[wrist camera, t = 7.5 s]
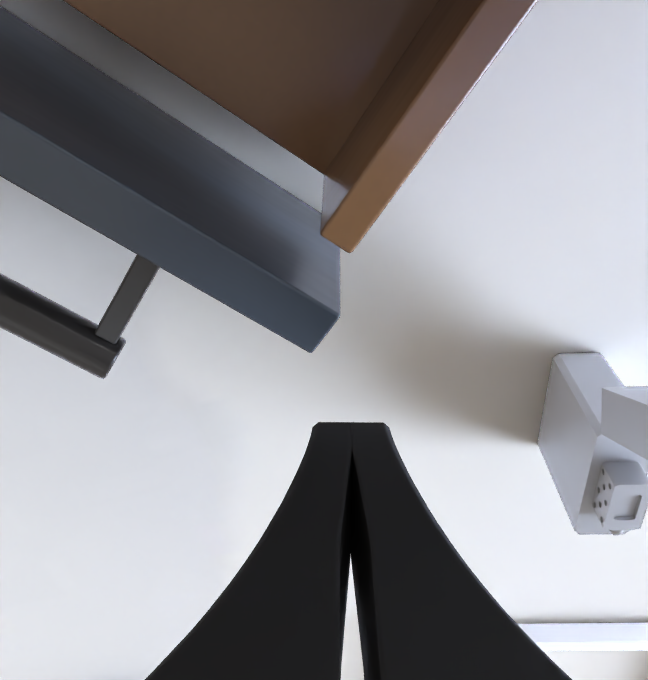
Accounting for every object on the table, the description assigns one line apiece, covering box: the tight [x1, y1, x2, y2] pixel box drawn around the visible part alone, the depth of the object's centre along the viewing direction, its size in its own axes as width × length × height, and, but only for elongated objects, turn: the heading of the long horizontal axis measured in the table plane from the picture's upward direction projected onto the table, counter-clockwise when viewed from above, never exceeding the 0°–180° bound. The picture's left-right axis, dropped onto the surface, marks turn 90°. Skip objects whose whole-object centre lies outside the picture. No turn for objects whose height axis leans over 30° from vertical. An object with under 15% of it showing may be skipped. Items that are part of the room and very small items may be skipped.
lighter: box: [537, 353, 648, 535], centre depth 18 cm, size 7×2×8 cm, turn 2°
